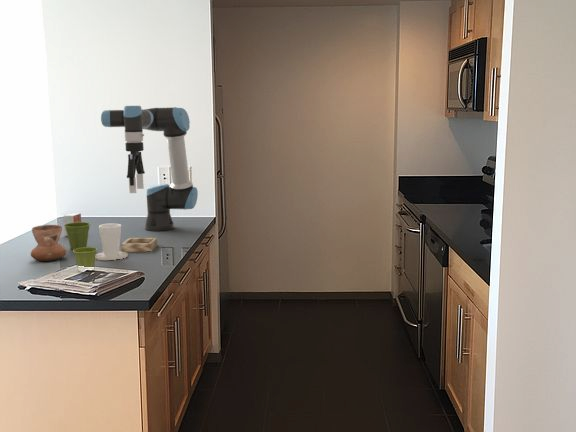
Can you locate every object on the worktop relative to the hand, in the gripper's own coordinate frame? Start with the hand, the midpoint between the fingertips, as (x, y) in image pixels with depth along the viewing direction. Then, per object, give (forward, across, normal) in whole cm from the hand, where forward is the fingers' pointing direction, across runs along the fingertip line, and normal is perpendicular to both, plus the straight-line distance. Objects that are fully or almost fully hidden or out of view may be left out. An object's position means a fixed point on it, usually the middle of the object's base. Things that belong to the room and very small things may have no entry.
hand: (136, 190), depth 293 cm
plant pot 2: (+29, -28, +15) cm, 43 cm away
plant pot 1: (+29, +14, +32) cm, 45 cm away
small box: (+29, +45, +45) cm, 70 cm away
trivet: (+28, -5, +12) cm, 31 cm away
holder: (+28, +12, +3) cm, 31 cm away
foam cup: (+28, -4, +11) cm, 30 cm away
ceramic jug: (+29, -7, +38) cm, 48 cm away
